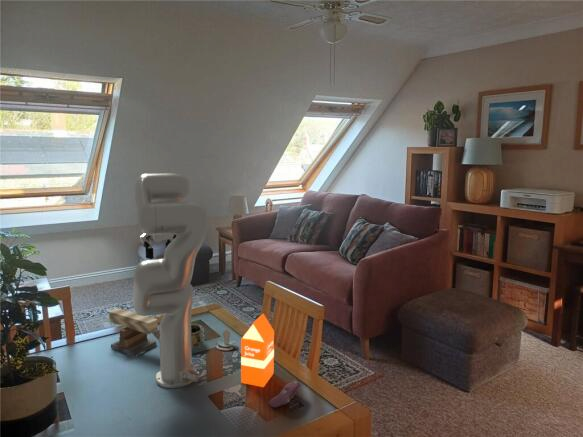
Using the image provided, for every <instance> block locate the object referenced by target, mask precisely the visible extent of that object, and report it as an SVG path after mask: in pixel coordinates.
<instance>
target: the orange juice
mask: <svg viewBox="0 0 583 437" xmlns="http://www.w3.org/2000/svg"><path fill="white" fill-rule="evenodd" d="M240 343H241V344H240V345H241V346H240V347H241V348H240V354H241V356H240V378H241V379H240V382H241V383H242V384H246V385H250V386H251V385H252V386H255V387H260V388H264V387H265V386H266V384H267V383H268V382H269V380H270V379H271V377H273V375H274V369H275V368H274V365H275V362H274V361H275V360H274V358H275V330H274V329H273V327H272V325H271V323H270V322H269V320H268V319H267V317H266V315H265V314H264V313H262V314H261V315H259V317H258V318H256V319H255V320H254V321H253V322H252V325H250V327H249V329H248V330H247V331H246V332H245V333H244V334H243V336H242V337H241V339H240Z"/></svg>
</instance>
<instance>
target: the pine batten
mask: <svg viewBox="0 0 583 437" xmlns="http://www.w3.org/2000/svg"><path fill="white" fill-rule="evenodd" d="M108 319H109V321H108V322H109V323H112V324H114V325H118V326H120V327H121V326H122V327H124V328H126V327H127V328H130V329H134V330H137V331H140V332H143V333H147V335H151V334H153V333H154V332H157V331H159V328H158V319H157V318H153V317H151V316H150V317H149V316H141V315H138V314H137V313H136V312H133V311H129V310H126V309H122V308H115V309H113V310H110V311H108Z"/></svg>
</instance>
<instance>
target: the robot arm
mask: <svg viewBox="0 0 583 437" xmlns="http://www.w3.org/2000/svg"><path fill="white" fill-rule="evenodd" d="M190 191H191V184H190V181H189V177H188V176H187V175H183V174H178V173H174V172H171V173H170V172H169V173H168V172H167V173H165V172H164V173H163V172H162V173H159V172H158V173H142V174H140V175H139V176H138V177H137V178H136V181H135V184H134V196H135V197H134V198H135V206H136V214H137V223H138V228H139V230H140V231H141V233H142V234H141V235H140V236H139V237H138V238H139V240H140V242H141V245H142V246H143V248H144V249H145V260H142V261H140V262H139V263H137V265H136V266H135V267H134V268H135V269H134V274H133V288H132V289H133V292H132V293H133V294H132V306H133V309H134V311H135V313H137V314H138V315H141V316H147V317H149V316H155V315H163V314H164V316H163V317H162V319H161V321H160V322H159V328H158V333H159V354H160V355H159V357H160V358H159V360H160V361H159V362H160V363H159V364H160V367H159V368H160V370H159V371H157V373H156V374H155V382H156V384H157V385H159V386H161V387H164V388H167V389H177V388H182V387H186V386H188V385H190V384H191V383H193V382H194V383H197V382H198V381H199V378H200V376H201V371H198V370H197V369H196V368H195V364H194V363H193V362H192V360H193V358H192V356H193V355H192V351H193V349H191V324H192V310H193V309H192V308H193V303H194V295H195V294H194V287H193V285H192V284H191V281H192V278H193V274H194V267H195V263H196V258H197V254H198V252H199V250H200V249H201V247H202V245H203V243H204V240H205V239H206V234H207V230H208V214H207V210H206V209H205V207H204V206H203V205H201V204H199V203H196V202H193V201H183V200H185V199H186V198H188V197H189V194H190ZM177 234H178V235H177ZM164 241H165V249H164V252H163V257H162V258H155V257H154V248H153V247H154V244H155V243H161V242H164Z"/></svg>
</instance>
